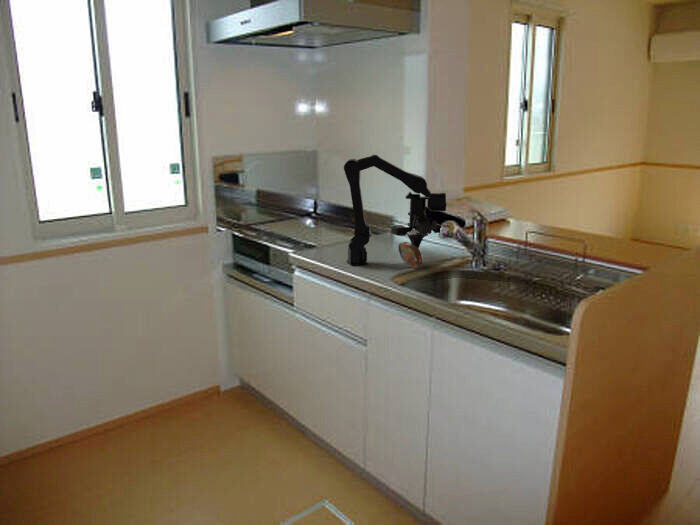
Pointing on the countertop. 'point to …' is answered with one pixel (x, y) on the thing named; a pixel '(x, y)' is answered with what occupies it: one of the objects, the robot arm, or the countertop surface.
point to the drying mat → (400, 265)
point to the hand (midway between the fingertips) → (415, 251)
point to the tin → (410, 254)
